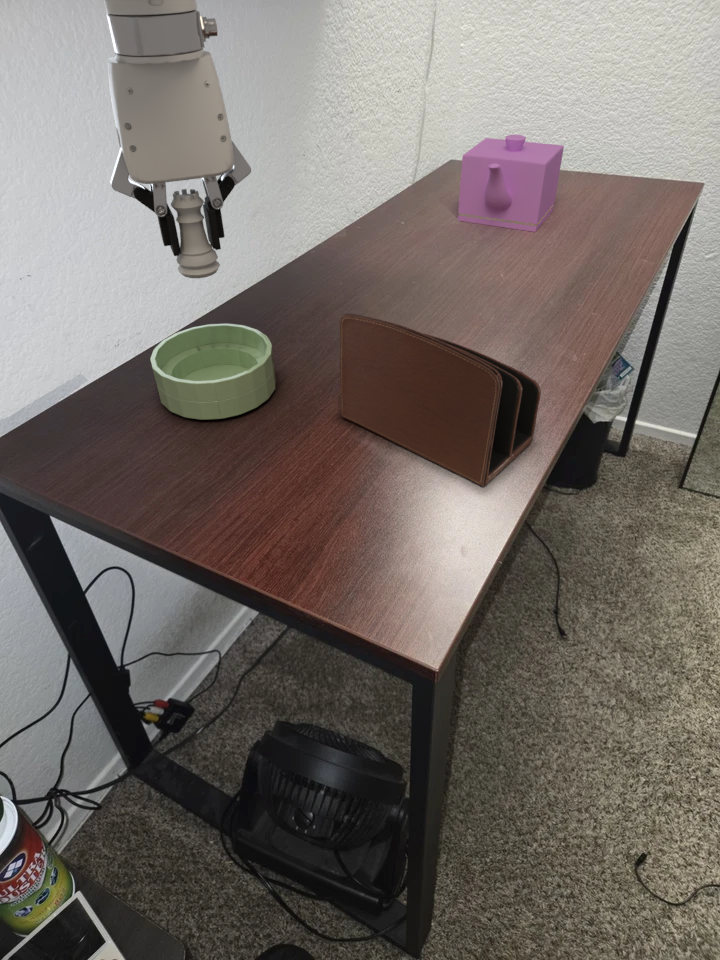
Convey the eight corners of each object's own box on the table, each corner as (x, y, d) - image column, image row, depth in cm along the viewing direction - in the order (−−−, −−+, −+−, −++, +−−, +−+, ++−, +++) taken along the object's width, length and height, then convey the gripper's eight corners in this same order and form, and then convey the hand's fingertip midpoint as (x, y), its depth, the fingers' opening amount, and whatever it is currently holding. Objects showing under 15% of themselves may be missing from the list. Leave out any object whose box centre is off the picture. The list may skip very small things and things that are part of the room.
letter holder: (484, 489, 67) (500, 368, 58) (339, 418, 77) (333, 305, 68) (533, 443, 72) (555, 326, 63) (392, 382, 82) (394, 274, 73)
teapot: (444, 233, 121) (449, 150, 112) (487, 193, 138) (494, 118, 129) (524, 245, 116) (536, 160, 107) (559, 202, 133) (572, 125, 124)
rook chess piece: (197, 283, 68) (183, 203, 63) (169, 273, 70) (152, 194, 65) (229, 269, 70) (217, 191, 65) (201, 259, 73) (187, 183, 67)
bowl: (170, 435, 75) (159, 394, 71) (153, 374, 85) (143, 336, 81) (289, 408, 79) (285, 368, 75) (260, 353, 89) (255, 315, 85)
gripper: (241, 27, 62) (263, 225, 73) (55, 39, 57) (110, 247, 69) (261, 36, 56) (281, 249, 68) (57, 50, 52) (117, 274, 64)
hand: (195, 246), depth 68 cm, fingers closed on rook chess piece, 3 cm apart
